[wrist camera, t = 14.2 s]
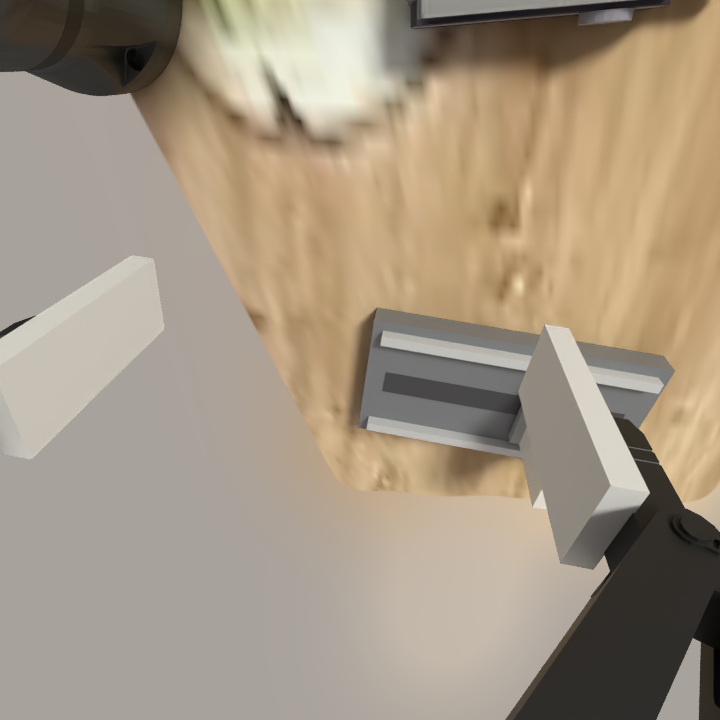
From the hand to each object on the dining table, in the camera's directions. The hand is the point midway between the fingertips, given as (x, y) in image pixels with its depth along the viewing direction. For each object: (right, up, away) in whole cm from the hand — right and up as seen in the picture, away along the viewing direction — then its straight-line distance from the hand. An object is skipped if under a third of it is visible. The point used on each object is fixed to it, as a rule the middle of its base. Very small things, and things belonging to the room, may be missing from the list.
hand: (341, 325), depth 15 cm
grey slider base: (+15, -4, +32) cm, 36 cm away
